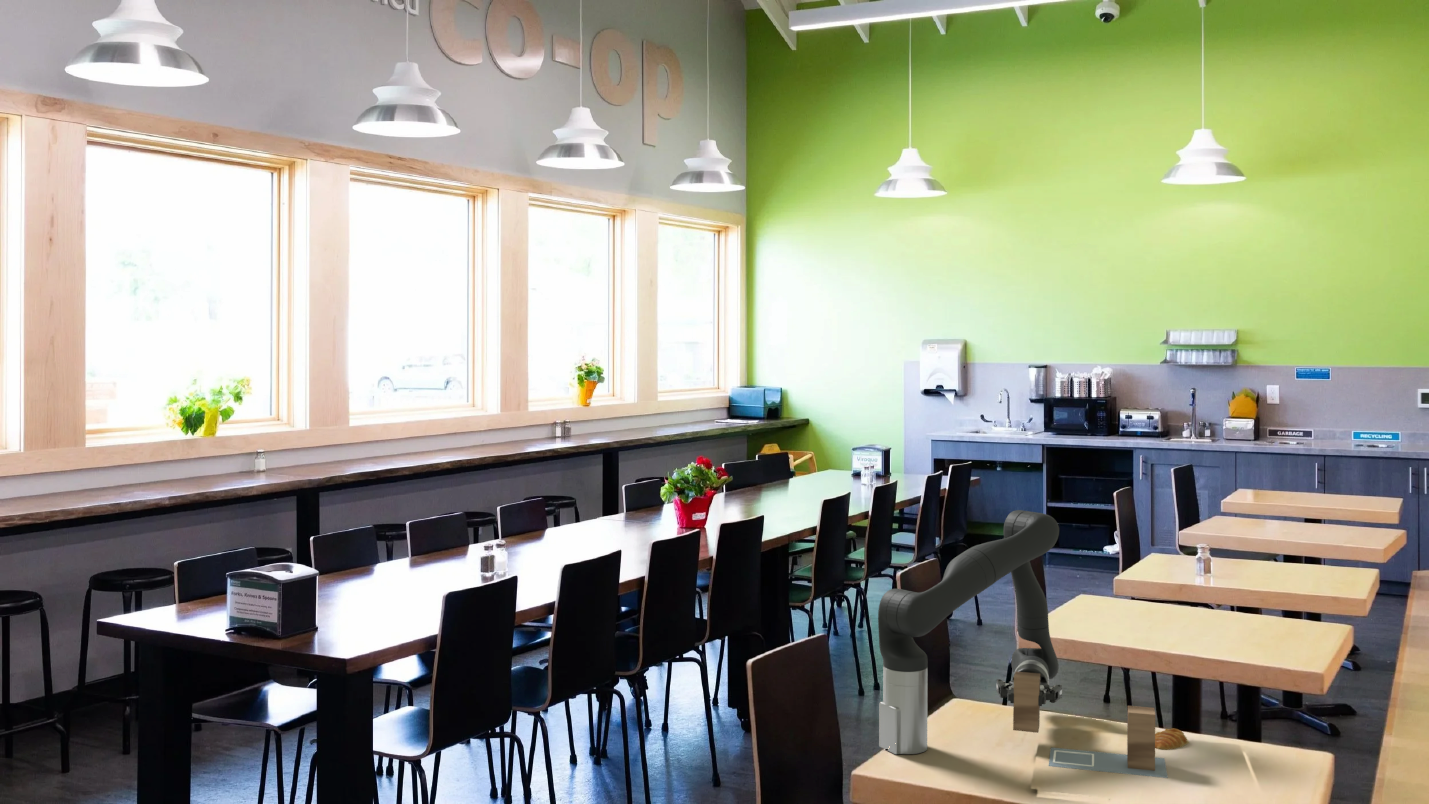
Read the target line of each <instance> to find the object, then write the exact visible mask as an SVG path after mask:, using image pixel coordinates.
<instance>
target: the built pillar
mask: <svg viewBox="0 0 1429 804" xmlns="http://www.w3.org/2000/svg"><path fill="white" fill-rule="evenodd" d="M1126 726H1127V728H1126V729H1127V739H1126V741H1127V742H1126V746H1127V748H1126V755H1127V764H1128V768H1132V769H1142V770H1153V771H1155V757H1156V748H1155V734H1156V710H1155V707H1147V706H1138V705H1137V706H1136V705H1127V725H1126Z"/></svg>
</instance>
